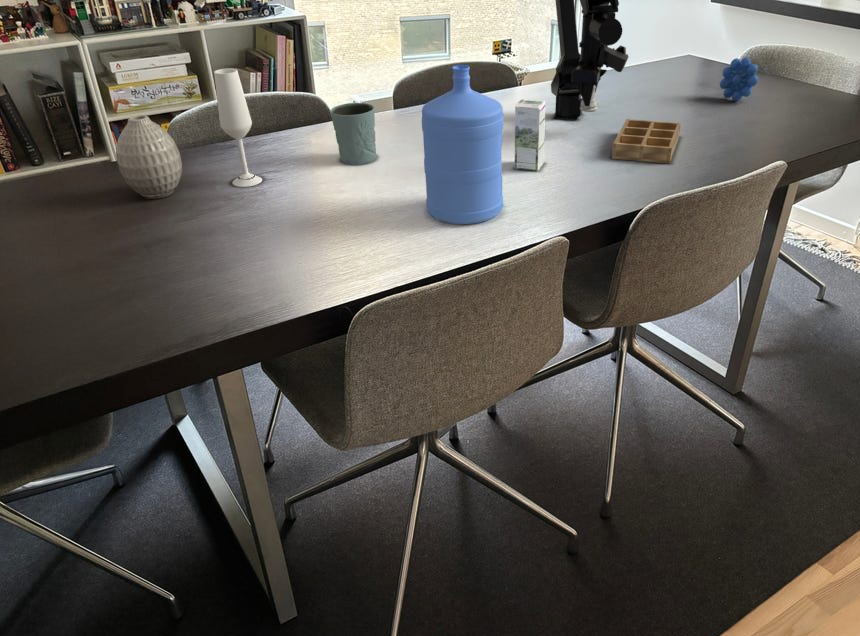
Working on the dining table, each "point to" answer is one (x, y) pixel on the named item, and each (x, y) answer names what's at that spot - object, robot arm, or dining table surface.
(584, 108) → the rook chess piece
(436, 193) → the water jug
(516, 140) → the syrup box
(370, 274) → the dining table surface
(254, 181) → the champagne flute
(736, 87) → the grapes
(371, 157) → the green embossed cup
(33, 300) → the dining table surface
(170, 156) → the vase
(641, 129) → the rack
